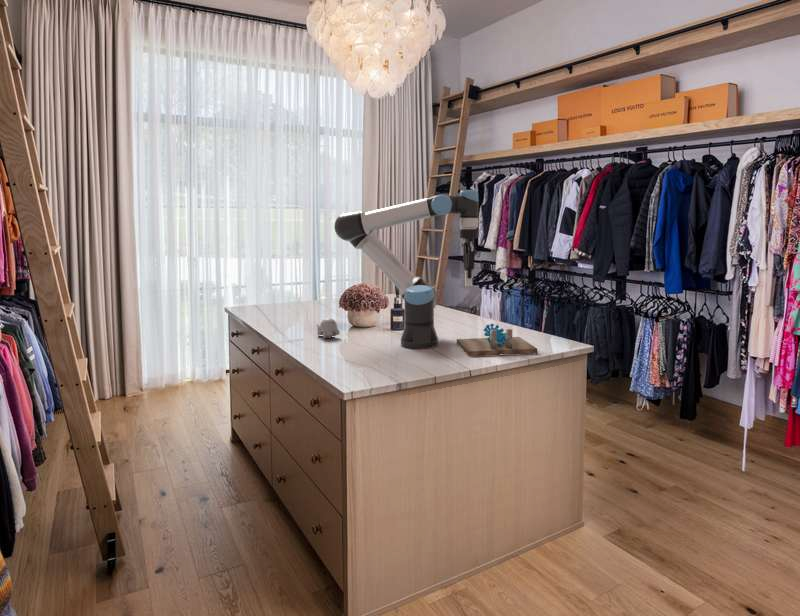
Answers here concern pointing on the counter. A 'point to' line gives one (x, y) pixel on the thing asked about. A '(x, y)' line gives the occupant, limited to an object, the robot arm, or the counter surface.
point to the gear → (499, 334)
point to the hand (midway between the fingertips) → (468, 285)
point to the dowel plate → (485, 347)
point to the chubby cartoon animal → (328, 328)
